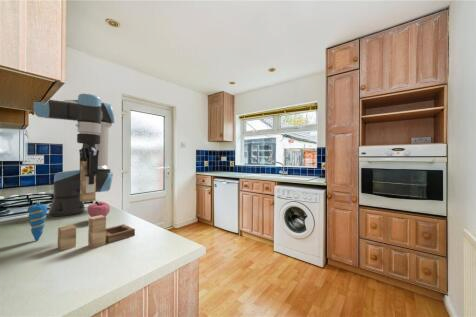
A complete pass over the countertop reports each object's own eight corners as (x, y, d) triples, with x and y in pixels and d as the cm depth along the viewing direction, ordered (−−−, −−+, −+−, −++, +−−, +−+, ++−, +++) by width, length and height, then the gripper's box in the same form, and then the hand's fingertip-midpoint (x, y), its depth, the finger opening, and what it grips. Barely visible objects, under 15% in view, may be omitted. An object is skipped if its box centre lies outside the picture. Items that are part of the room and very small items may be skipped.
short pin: (57, 247, 69) (58, 227, 69) (72, 243, 72) (72, 224, 72) (60, 250, 67) (61, 230, 67) (75, 246, 70) (76, 226, 70)
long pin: (79, 200, 80) (80, 161, 80) (91, 199, 83) (92, 161, 83) (83, 202, 78) (84, 161, 77) (95, 200, 81) (96, 161, 81)
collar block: (98, 236, 79) (98, 230, 79) (123, 230, 86) (123, 224, 86) (108, 243, 73) (109, 236, 73) (134, 235, 81) (134, 229, 81)
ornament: (24, 244, 70) (25, 202, 70) (29, 239, 75) (30, 199, 75) (44, 241, 73) (45, 201, 73) (48, 236, 78) (49, 198, 78)
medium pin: (88, 245, 71) (88, 217, 71) (100, 241, 74) (101, 215, 74) (92, 248, 69) (93, 219, 69) (105, 244, 72) (106, 217, 72)
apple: (110, 221, 98) (111, 200, 98) (89, 225, 92) (89, 203, 92) (106, 216, 104) (106, 197, 104) (85, 220, 98) (86, 200, 98)
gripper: (70, 133, 82) (69, 190, 82) (85, 132, 72) (84, 196, 72) (91, 135, 88) (90, 187, 88) (108, 134, 78) (107, 193, 78)
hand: (87, 191), depth 80 cm, fingers closed on long pin, 4 cm apart
